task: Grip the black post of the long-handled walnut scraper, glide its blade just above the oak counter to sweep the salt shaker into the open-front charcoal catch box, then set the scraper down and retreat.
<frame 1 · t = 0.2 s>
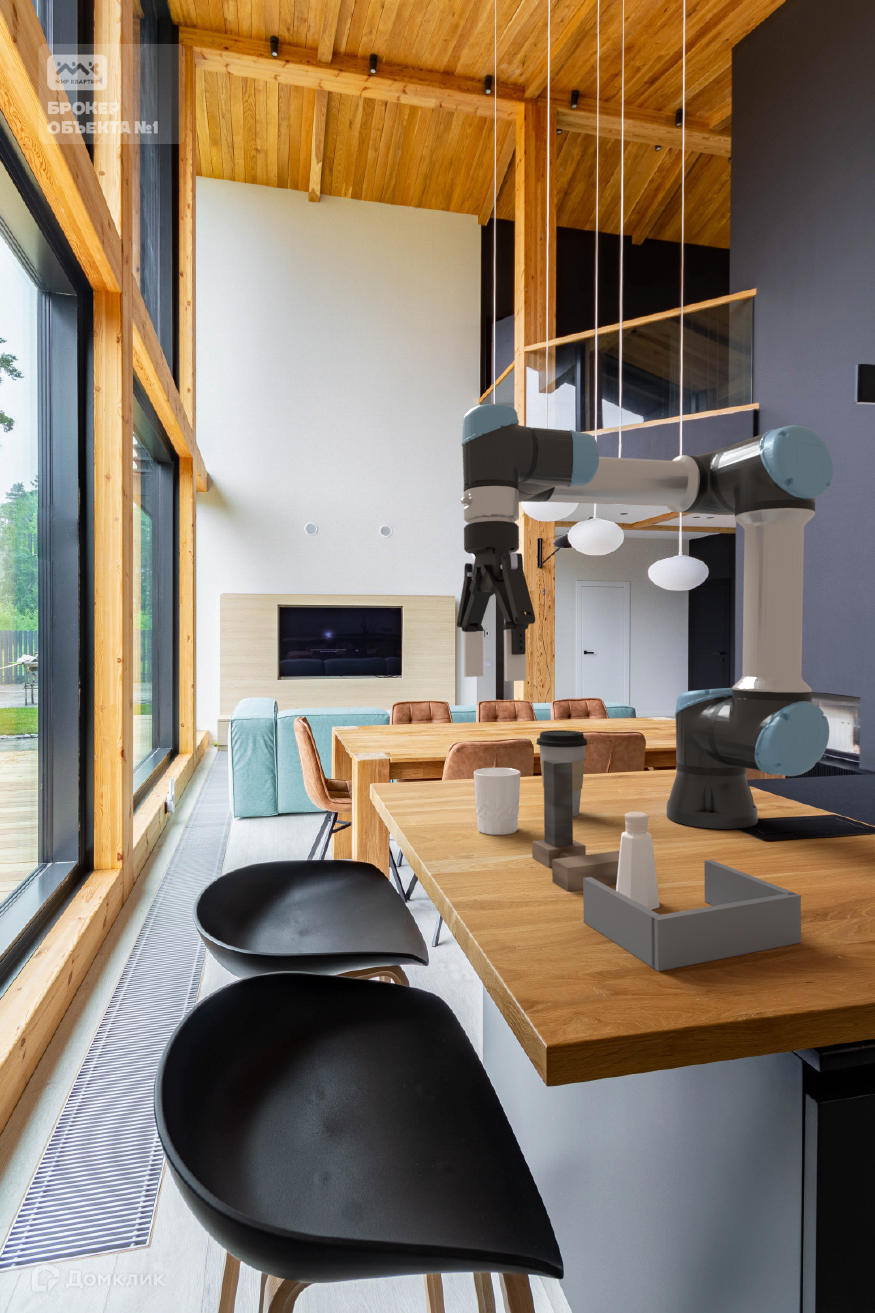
hand: (493, 678, 100), 27 cm above the breakfast bar, tool pointing down, fingers open, 13 cm apart
scraper: (558, 860, 106), on the breakfast bar
catch box: (686, 930, 80), on the breakfast bar
white cup: (497, 831, 124), on the breakfast bar
coffee cup: (562, 814, 135), on the breakfast bar
salt shaker: (637, 905, 88), on the breakfast bar
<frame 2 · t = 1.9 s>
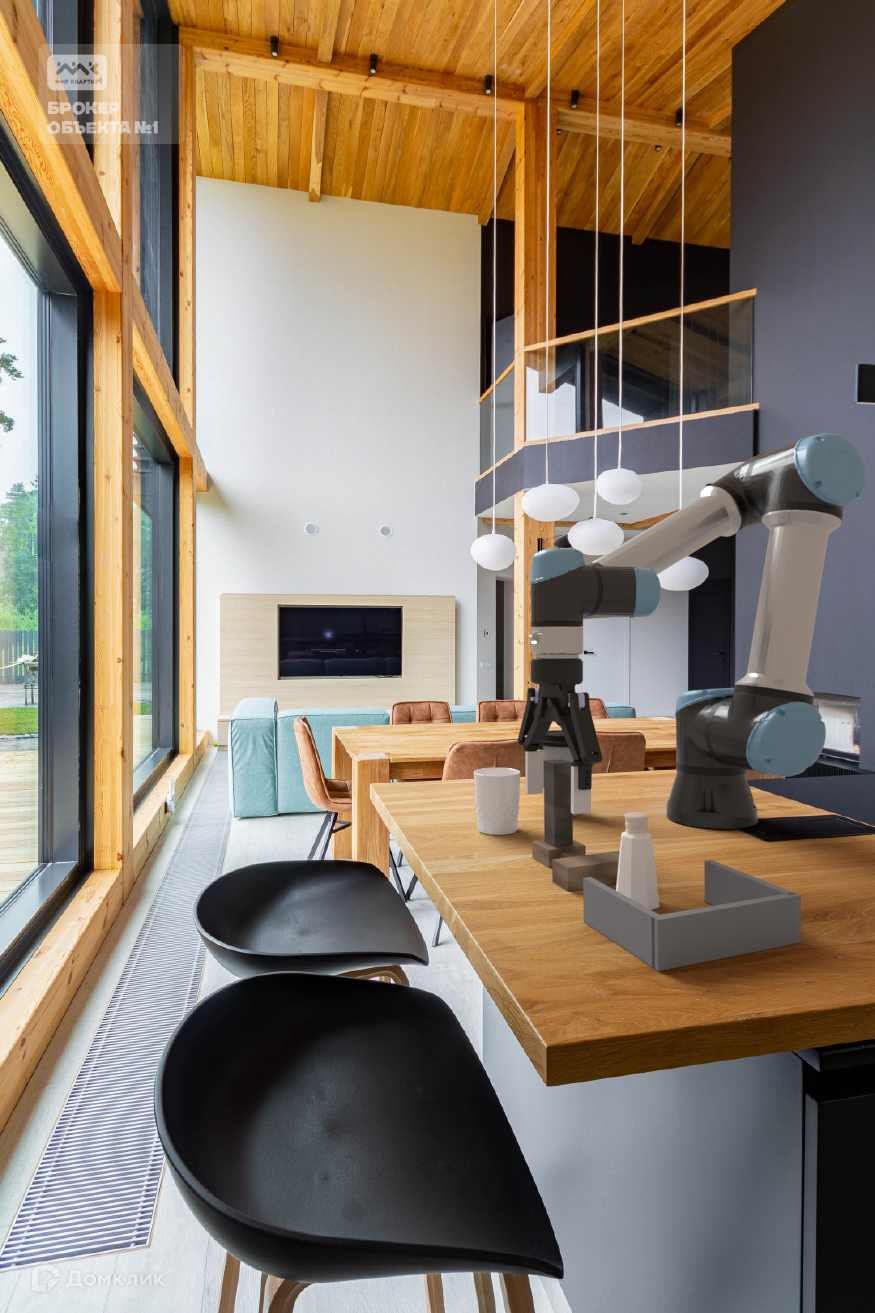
hand: (556, 802, 106), 8 cm above the breakfast bar, tool pointing down, fingers open, 13 cm apart
nothing on the breakfast bar moved.
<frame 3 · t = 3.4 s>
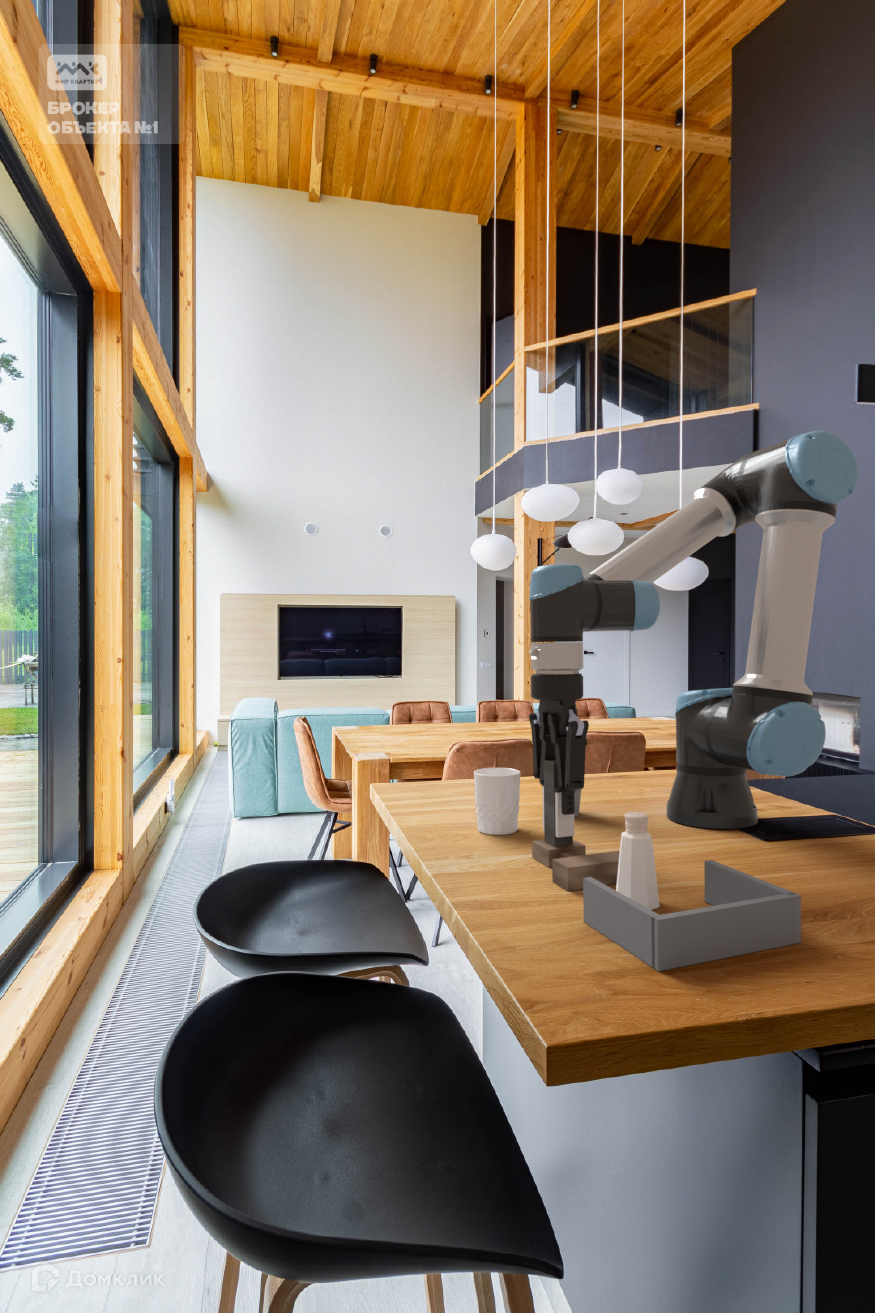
hand: (558, 832, 106), 4 cm above the breakfast bar, tool pointing down, fingers closed on scraper, 3 cm apart
scraper: (558, 860, 106), on the breakfast bar, touching gripper
everything else where it was.
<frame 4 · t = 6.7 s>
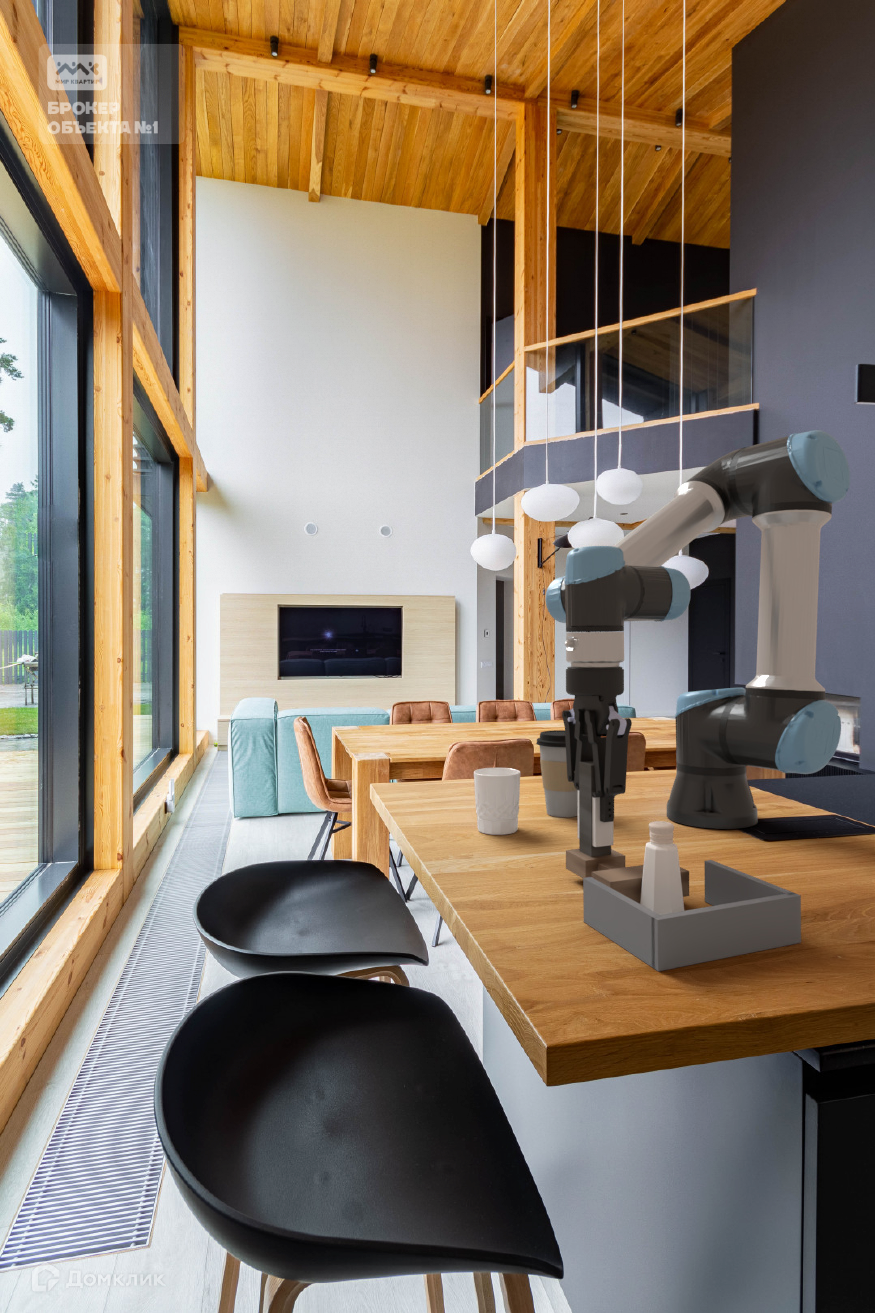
hand: (595, 841, 97), 5 cm above the breakfast bar, tool pointing down, fingers closed on scraper, 3 cm apart
scraper: (595, 871, 97), point 1 cm above the breakfast bar, touching gripper, salt shaker
salt shaker: (662, 920, 84), on the breakfast bar, touching scraper
everything else where it was.
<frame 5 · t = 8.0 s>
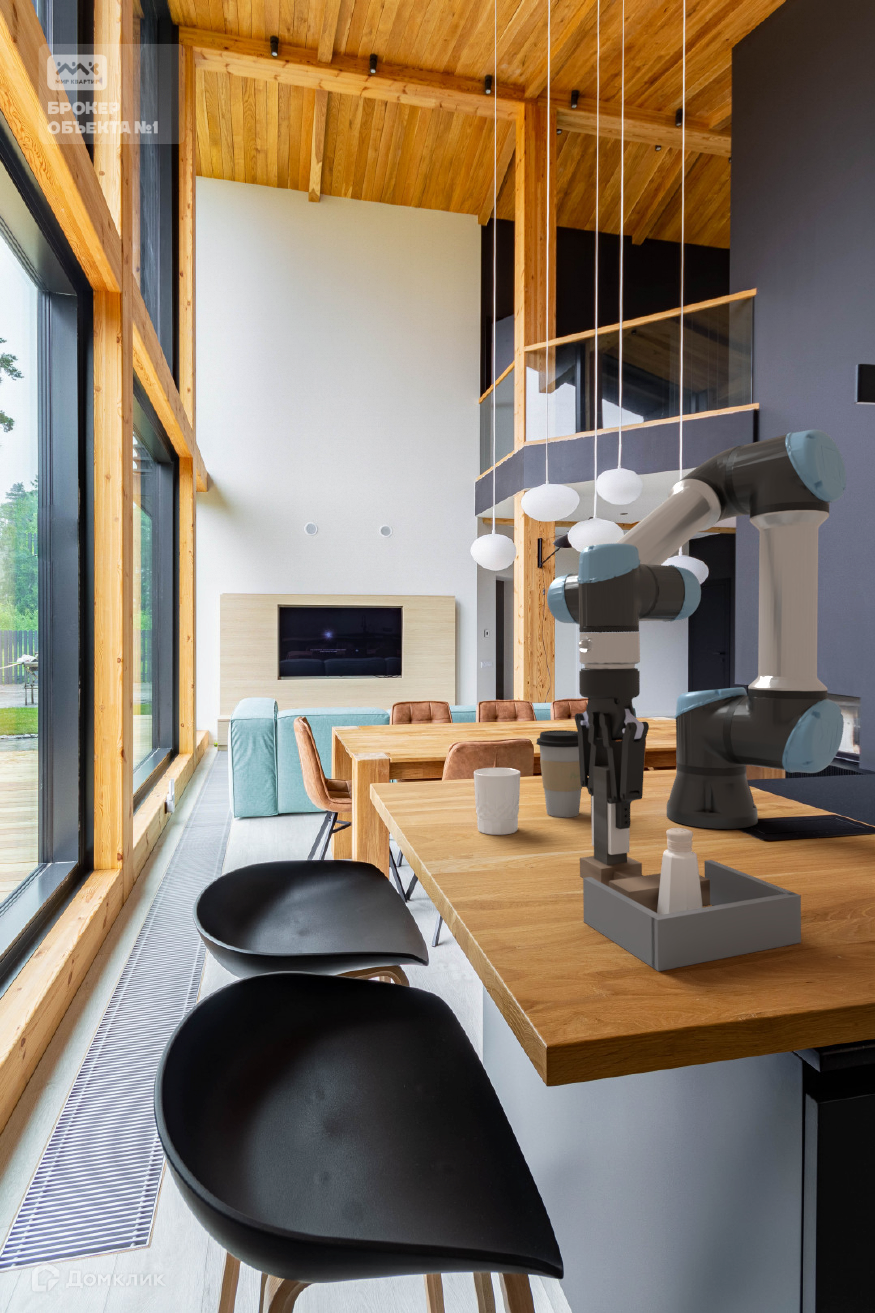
hand: (610, 848, 94), 5 cm above the breakfast bar, tool pointing down, fingers closed on scraper, 3 cm apart
scraper: (610, 879, 94), point 1 cm above the breakfast bar, touching gripper, salt shaker
salt shaker: (680, 931, 80), on the breakfast bar, touching scraper
everything else where it was.
when the fingers open (4 cm above the breakfast bar, at t = 10.4 s): scraper stays where it is, on the breakfast bar.
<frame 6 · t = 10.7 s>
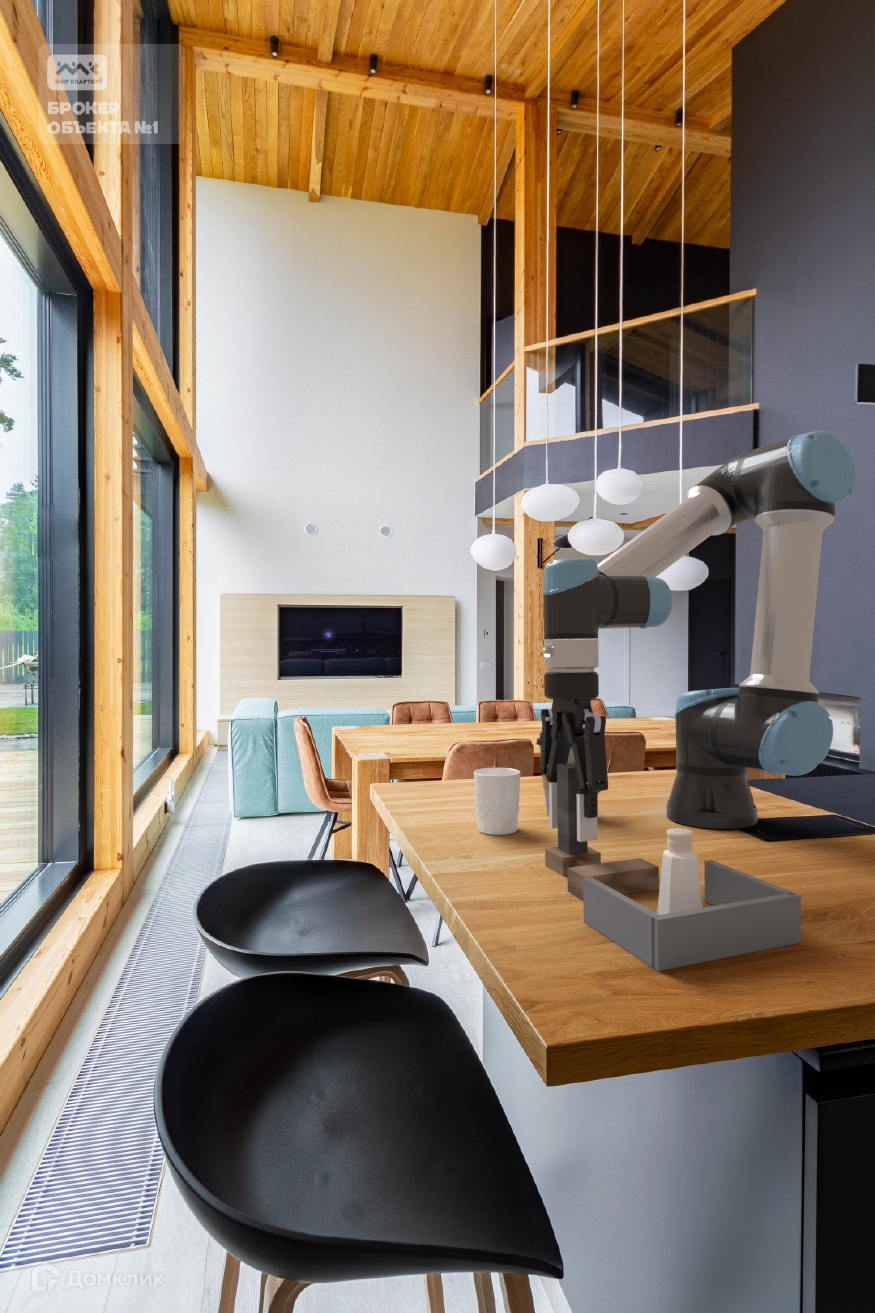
hand: (572, 833, 102), 5 cm above the breakfast bar, tool pointing down, fingers open, 7 cm apart
scraper: (572, 868, 103), on the breakfast bar
salt shaker: (680, 931, 80), on the breakfast bar
everything else where it was.
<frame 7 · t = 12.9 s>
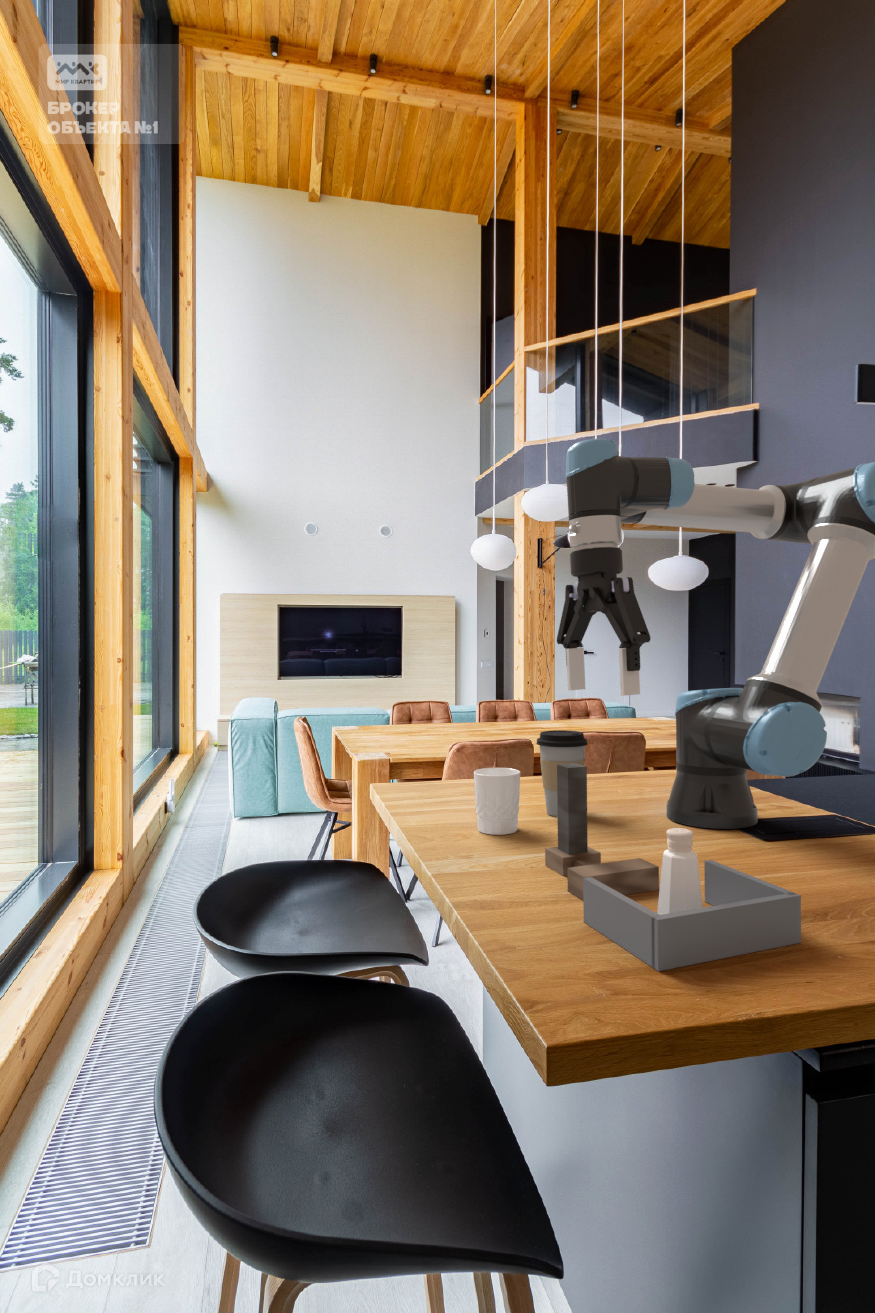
hand: (602, 692, 108), 24 cm above the breakfast bar, tool pointing down, fingers open, 13 cm apart
nothing on the breakfast bar moved.
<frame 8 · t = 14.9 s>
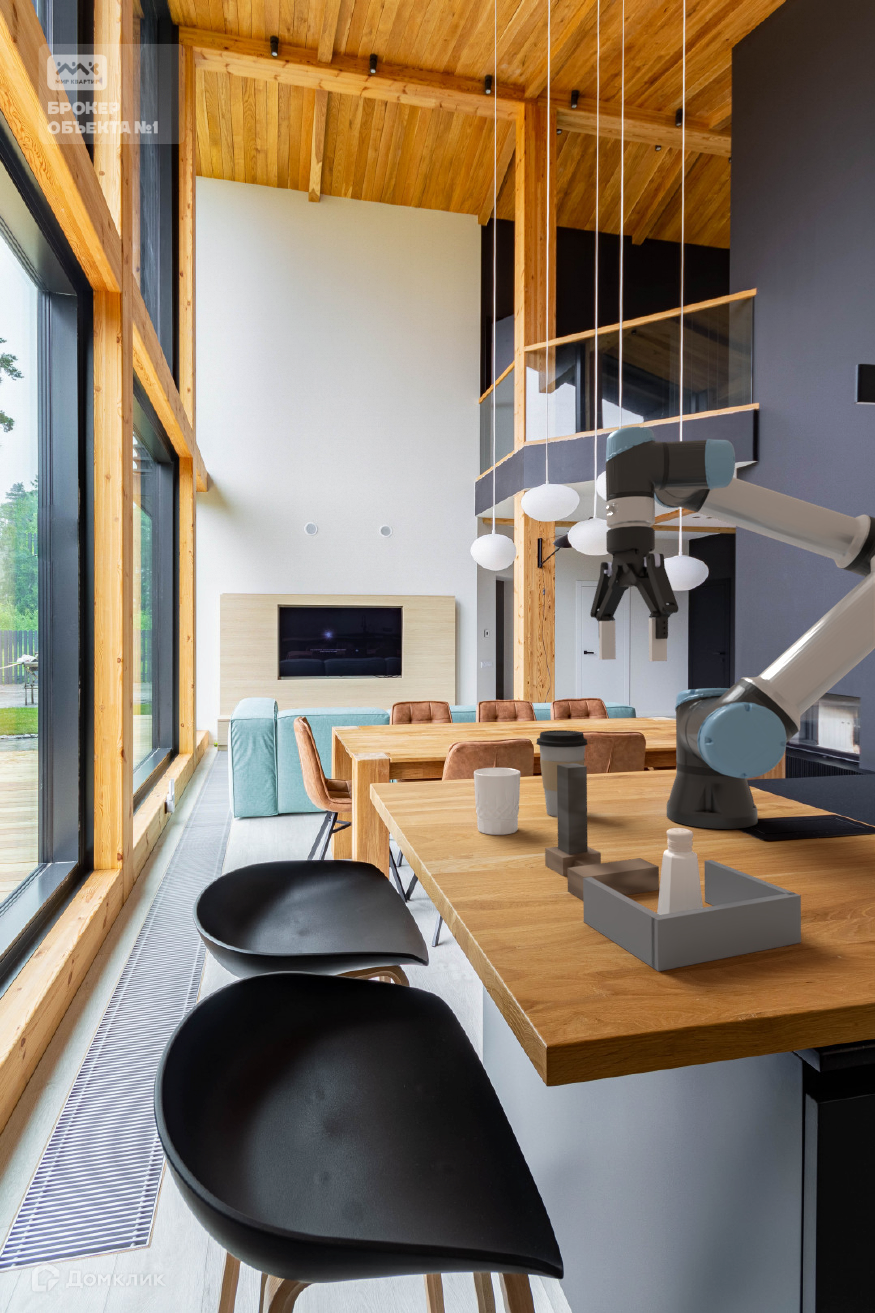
hand: (631, 660, 117), 29 cm above the breakfast bar, tool pointing down, fingers open, 13 cm apart
nothing on the breakfast bar moved.
at the end: salt shaker inside the target area on the catch box (1.4 cm from its centre), point 0.0 cm above the catch box's base; salt shaker tilted 0°; the gripper is holding nothing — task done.
